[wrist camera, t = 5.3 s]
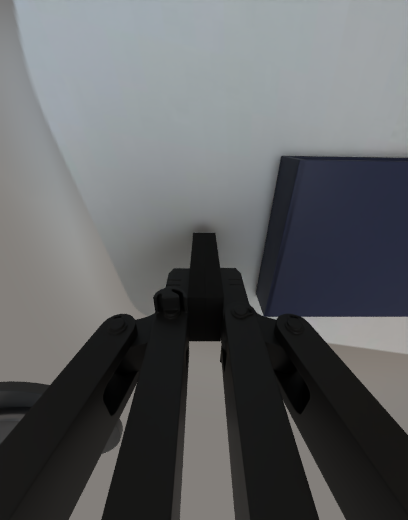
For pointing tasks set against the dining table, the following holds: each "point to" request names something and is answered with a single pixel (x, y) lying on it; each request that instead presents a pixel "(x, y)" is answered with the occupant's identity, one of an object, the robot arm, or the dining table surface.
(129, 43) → the dining table surface
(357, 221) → the book
